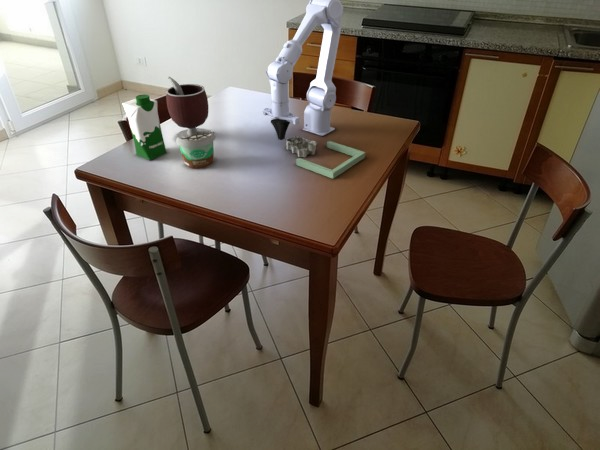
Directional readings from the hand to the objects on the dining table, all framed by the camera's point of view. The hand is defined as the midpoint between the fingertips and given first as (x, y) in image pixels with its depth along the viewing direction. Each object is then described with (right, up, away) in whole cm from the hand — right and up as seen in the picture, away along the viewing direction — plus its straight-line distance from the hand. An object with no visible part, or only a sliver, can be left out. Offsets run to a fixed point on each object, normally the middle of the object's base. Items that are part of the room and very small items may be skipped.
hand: (281, 139), depth 147 cm
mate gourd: (-33, +2, +8) cm, 34 cm away
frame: (+16, -9, -9) cm, 21 cm away
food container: (-25, -11, -11) cm, 30 cm away
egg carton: (+7, -5, -3) cm, 9 cm away
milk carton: (-44, -6, -4) cm, 44 cm away
